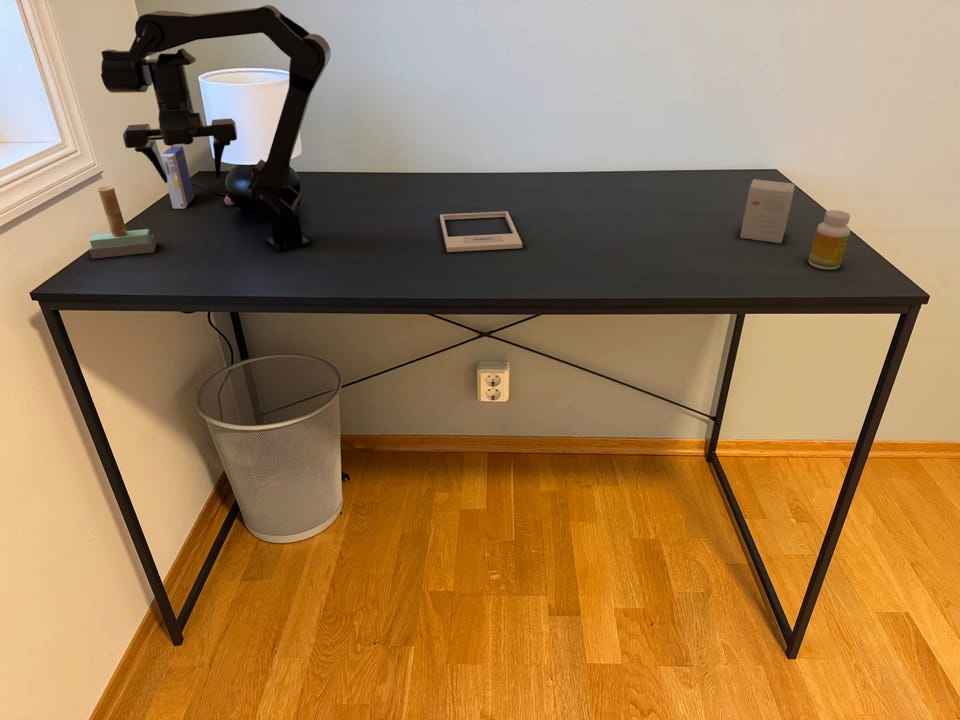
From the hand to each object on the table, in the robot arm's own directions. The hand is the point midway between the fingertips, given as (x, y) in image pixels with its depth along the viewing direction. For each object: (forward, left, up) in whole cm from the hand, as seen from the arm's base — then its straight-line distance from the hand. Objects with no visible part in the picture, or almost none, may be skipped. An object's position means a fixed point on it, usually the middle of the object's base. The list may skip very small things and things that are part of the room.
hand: (192, 179), depth 128 cm
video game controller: (+21, -16, -13) cm, 30 cm away
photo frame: (-28, -46, -13) cm, 55 cm away
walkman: (+28, -4, -13) cm, 31 cm away
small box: (-64, -90, -13) cm, 111 cm away
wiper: (+6, +14, -13) cm, 20 cm away
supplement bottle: (-79, -87, -13) cm, 118 cm away
